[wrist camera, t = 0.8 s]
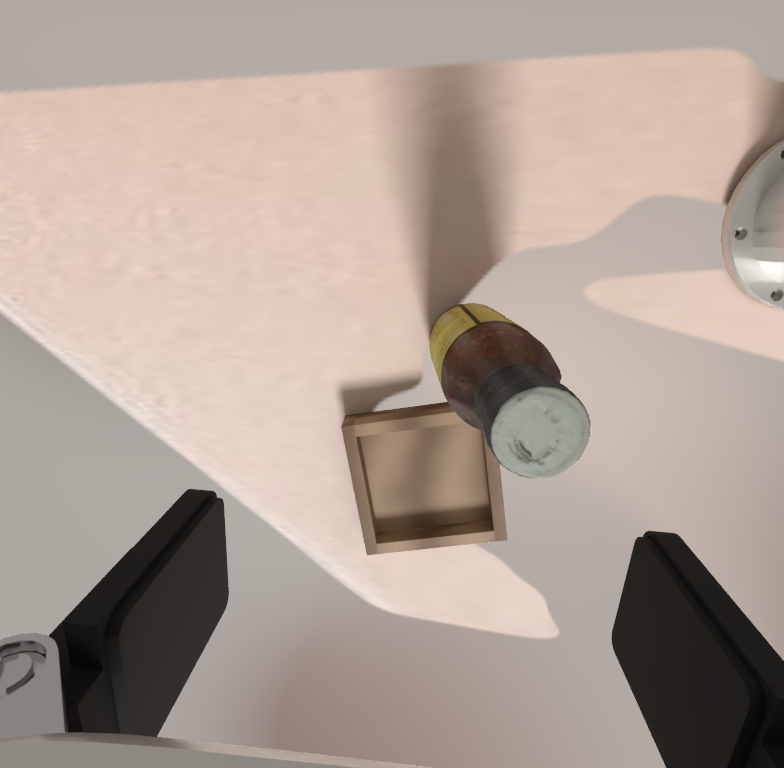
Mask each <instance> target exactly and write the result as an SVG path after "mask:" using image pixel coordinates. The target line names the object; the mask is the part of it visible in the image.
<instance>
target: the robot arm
mask: <svg viewBox="0 0 784 768" xmlns="http://www.w3.org/2000/svg"><path fill="white" fill-rule="evenodd" d="M735 232H736V234H735ZM734 234H735V235H734ZM721 242H722V252H723V258H724V261H725V264H726V267H727V270H728V272H729V274H730V275H731V277H732V279H733V280H734V282H735V284H736V285H737V286H738V287H739V288H740V289H741V290H742V291H743V292H744V293H745V294H746V295H748V296H749V297H751V298H752V299H754V300H756V301H757V302H759V303H762V304H765V305H767V306H770V307H773V308H779V309H784V139H783V140H781V141H779V142H777V143H776V144H775V145H773V146H772V147H771V148H770V149H768V150H767V151H766V152H765V153H763V154H762V155H761V156H760V157H759V158H758V159H757V160H756V161H755V162H754V163H753V164H752V166H751V167H750V168H749V169H748V170H747V171H746V173H745V174H744V176H743V177H742V179H741V180H740V182H739V183H738V184H737V186H736V188H735V190H734V192H733V194H732V196H731V198H730V200H729V203H728V205H727V208H726V212H725V216H724V220H723V225H722V237H721ZM228 596H229V591H228V573H227V553H226V536H225V518H224V502H223V500H222V499H221V498H217V495H216V493H215V492H214V491H207V490H195V489H188V490H187V491H186V492H185V493H184V494H183V495H182V496H181V497H180V498H179V499H178V500H177V501H176V502H175V503H174V504H173V506H172V507H171V508H170V509H169V510H168V511H167V512H166V513H165V514H164V515H163V516H162V517H161V518H160V519H159V521H157V523H156V524H155V525H154V526H153V527H152V528H151V529H150V530H149V531H148V532H147V533H146V534H145V535H144V536H143V537H142V538H141V539H140V541H139V542H138V543H137V544H136V545H135V546H134V547H133V548H131V549H130V550H129V551H128V552H127V553H126V554H125V555H124V557H123V558H122V559H121V560H120V561H119V562H118V563H117V564H116V565H115V566H114V567H113V568H112V569H111V570H110V572H108V573H107V575H106V576H105V577H104V578H103V579H102V580H101V581H100V582H99V583H98V584H97V585H96V586H95V587H94V588H93V589H92V590H91V592H90V593H89V594H88V595H87V596H86V597H85V598H84V599H83V600H82V601H81V602H80V603H79V604H78V605H77V606H76V607H75V608H74V610H73V611H72V612H71V613H70V614H69V615H68V616H67V617H66V618H65V619H64V620H63V621H62V622H61V623H60V624H59V625H58V626H57V628H56V629H55V630H54V631H53V632H52V633H51V634H50V635H49V636H47V635H43V634H37V633H29V634H19V635H16V636H12V637H8V638H4V639H2V640H0V768H433V767H425V766H417V765H408V764H400V763H391V762H383V761H373V760H365V759H357V758H349V757H340V756H331V755H321V754H313V753H304V752H295V751H286V750H277V749H267V748H259V747H250V746H241V745H232V744H223V743H214V742H203V741H193V740H182V739H171V738H161V737H157V735H158V733H159V732H160V730H161V728H162V726H163V724H164V722H165V720H166V719H167V716H168V715H169V713H170V711H171V709H172V707H173V706H174V704H175V702H176V700H177V698H178V696H179V694H180V692H181V691H182V689H183V687H184V685H185V683H186V681H187V679H188V678H189V676H190V674H191V672H192V670H193V668H194V666H195V665H196V662H197V661H198V659H199V657H200V655H201V653H202V652H203V650H204V648H205V646H206V644H207V642H208V641H209V639H210V637H211V635H212V633H213V631H214V629H215V628H216V626H217V624H218V622H219V620H220V618H221V617H222V615H223V613H224V611H225V609H226V606H227V602H228ZM612 645H613V649H614V652H615V654H616V656H617V659H618V661H619V663H620V665H621V668H622V670H623V672H624V674H625V676H626V679H627V681H628V683H629V685H630V687H631V690H632V692H633V694H634V697H635V699H636V701H637V703H638V705H639V707H640V710H641V712H642V714H643V717H644V719H645V721H646V723H647V726H648V728H649V730H650V732H651V735H652V737H653V739H654V741H655V743H656V745H657V748H658V750H659V752H660V755H661V757H662V759H663V761H664V764H665V766H666V768H784V661H783V660H782V659H781V657H780V656H779V655H778V654H777V653H776V651H775V650H774V649H773V648H772V647H771V645H770V644H769V643H768V642H767V640H766V639H765V638H764V637H763V636H762V634H761V633H760V632H759V631H758V630H757V629H756V627H755V626H754V625H753V624H752V623H751V621H750V620H749V619H748V618H747V617H746V615H745V614H744V613H743V612H742V611H741V610H740V608H739V607H738V606H737V605H736V604H735V602H734V601H733V600H732V599H731V597H730V596H729V595H728V594H727V593H726V591H725V590H724V589H723V588H722V587H721V585H720V584H719V583H718V582H717V581H716V579H715V578H714V577H713V576H712V575H711V573H710V572H709V571H708V570H707V569H706V567H705V566H704V565H703V564H702V563H701V561H700V560H699V559H698V558H697V557H696V556H695V554H694V553H693V552H692V551H691V549H690V548H689V547H688V546H687V545H686V543H684V541H683V540H682V539H681V537H680V536H678V535H677V534H675V533H666V532H655V531H647V532H646V533H645V534H644V535H643V537H638V538H637V539H636V541H635V544H634V548H633V552H632V555H631V559H630V563H629V567H628V571H627V575H626V579H625V583H624V587H623V591H622V595H621V599H620V603H619V607H618V611H617V615H616V619H615V623H614V627H613V631H612Z"/></svg>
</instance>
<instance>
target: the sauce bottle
mask: <svg viewBox="0 0 784 768" xmlns="http://www.w3.org/2000/svg"><path fill="white" fill-rule="evenodd" d="M430 353H431V358H432V361H433V364H434V367H435V369H436V372H437V375H438V378H439V381H440V384H441V387H442V390H443V392H444V395H445V397H446V399H447V401H448V403H449V404H450V406H451V408H452V409H453V410H454V411H455V413H456V414H457V415H458V416H459V417H460V418H461V419H462V420H463V421H465V422H466V423H467V424H469V425H470V426H472V427H474V428H476V429H478V430H481V431H484V435H485V438H486V440H487V445H488V446H489V448H490V450H491V451H492V453H493V454H494V456H495V457H496V459H497V460H498V462H499V463H500V464H501V465H502V466H504V467H505V468H506V469H508V470H509V471H511V472H513V473H515V474H517V475H519V476H523V477H528V478H548V477H552V476H555V475H558V474H560V473H562V472H564V471H565V470H567V469H568V468H569V467H570V466H572V465H573V464H574V463H575V462H576V461H577V460H578V459H579V458H580V456H581V455H582V453H583V451H584V450H585V447H586V445H587V443H588V440H589V437H590V419H589V415H588V413H587V410H586V409H585V407H584V405H583V404H582V403H581V401H580V400H579V399H578V398H577V397H576V396H575V395H574V393H572V392H571V391H570V390H569V389H568V388H567V387H565V386H564V385H562V384H560V380H561V374H560V370H559V368H558V366H557V364H556V363H555V361H554V359H553V358H552V356H551V354H550V352H549V351H548V349H547V348H546V347H545V346H544V345H543V344H542V343H541V342H540V341H538V340H537V339H536V338H534V337H533V336H532V335H531V334H530V333H529V332H528V331H526V330H525V329H524V328H522V327H521V326H519V325H517V324H516V323H514V322H512V321H511V320H509V319H507V318H506V317H505V316H503V315H502V314H500V313H498V312H497V311H495V310H494V309H492V308H489V307H488V306H485V305H481V304H459V305H456V306H454V307H452V308H450V309H448V310H447V311H446V312H445V313H443V315H442V316H441V317H440V318H439V319H438V320H437V322H436V323H435V324H434V326H433V329H432V334H431V338H430Z"/></svg>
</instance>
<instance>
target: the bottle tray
mask: <svg viewBox="0 0 784 768" xmlns="http://www.w3.org/2000/svg"><path fill="white" fill-rule="evenodd" d="M342 432H343V437H344V442H345V447H346V452H347V457H348V462H349V467H350V472H351V477H352V482H353V487H354V492H355V497H356V502H357V507H358V512H359V517H360V522H361V527H362V532H363V537H364V542H365V547H366V552H367V555H373V554H382V553H391V552H401V551H410V550H419V549H428V548H438V547H447V546H456V545H465V544H475V543H482V542H483V543H484V542H493V541H502V540H507V533H506V523H505V514H504V503H503V494H502V484H501V474H500V464H499V462H498V460H497V459H496V457H495V456H494V454H493V453H492V451H491V450H490V448H489V446H488V445H487V440H486V438H485V435H484V431H481V430H478V429H476V428H474V427H472V426H470V425H469V424H467V423H466V422H465V421H463V420H462V419H461V418H460V417H459V416H458V415H457V414H456V413H455V411H454V410H453V409H452V408H451V406H450V404H449V403H448V402H445V403H438V404H430V405H422V406H415V407H408V408H400V409H392V410H385V411H377V412H370V413H362V414H355V415H347V416H345V419H344V421H343V424H342Z"/></svg>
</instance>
